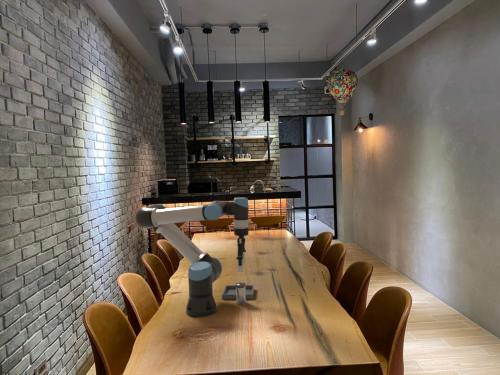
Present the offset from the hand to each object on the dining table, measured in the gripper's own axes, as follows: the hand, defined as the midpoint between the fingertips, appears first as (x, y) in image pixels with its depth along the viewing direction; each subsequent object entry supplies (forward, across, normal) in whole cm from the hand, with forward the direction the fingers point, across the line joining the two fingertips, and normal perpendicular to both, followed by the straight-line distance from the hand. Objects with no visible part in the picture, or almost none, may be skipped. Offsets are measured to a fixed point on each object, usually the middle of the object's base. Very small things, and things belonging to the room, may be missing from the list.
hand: (241, 268), depth 192 cm
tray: (+19, +13, +2) cm, 23 cm away
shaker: (+19, 0, 0) cm, 19 cm away
